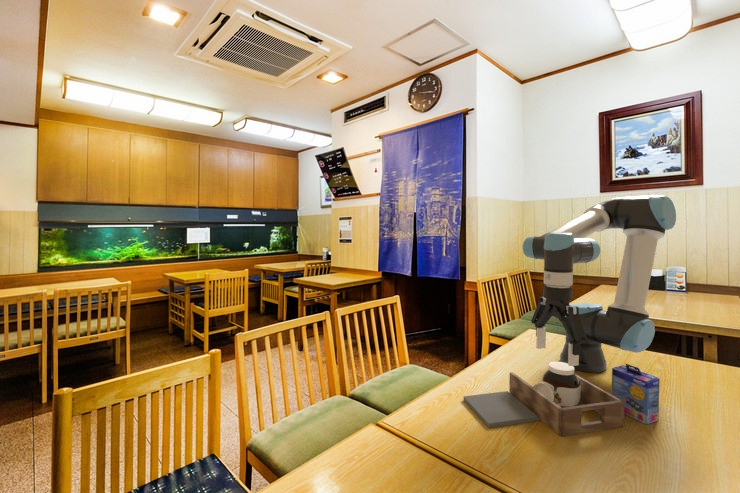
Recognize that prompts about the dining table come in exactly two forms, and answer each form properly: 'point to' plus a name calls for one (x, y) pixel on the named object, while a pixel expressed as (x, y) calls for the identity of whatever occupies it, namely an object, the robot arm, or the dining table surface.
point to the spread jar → (560, 385)
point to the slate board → (500, 409)
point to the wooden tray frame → (571, 417)
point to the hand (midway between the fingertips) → (556, 356)
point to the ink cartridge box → (637, 393)
